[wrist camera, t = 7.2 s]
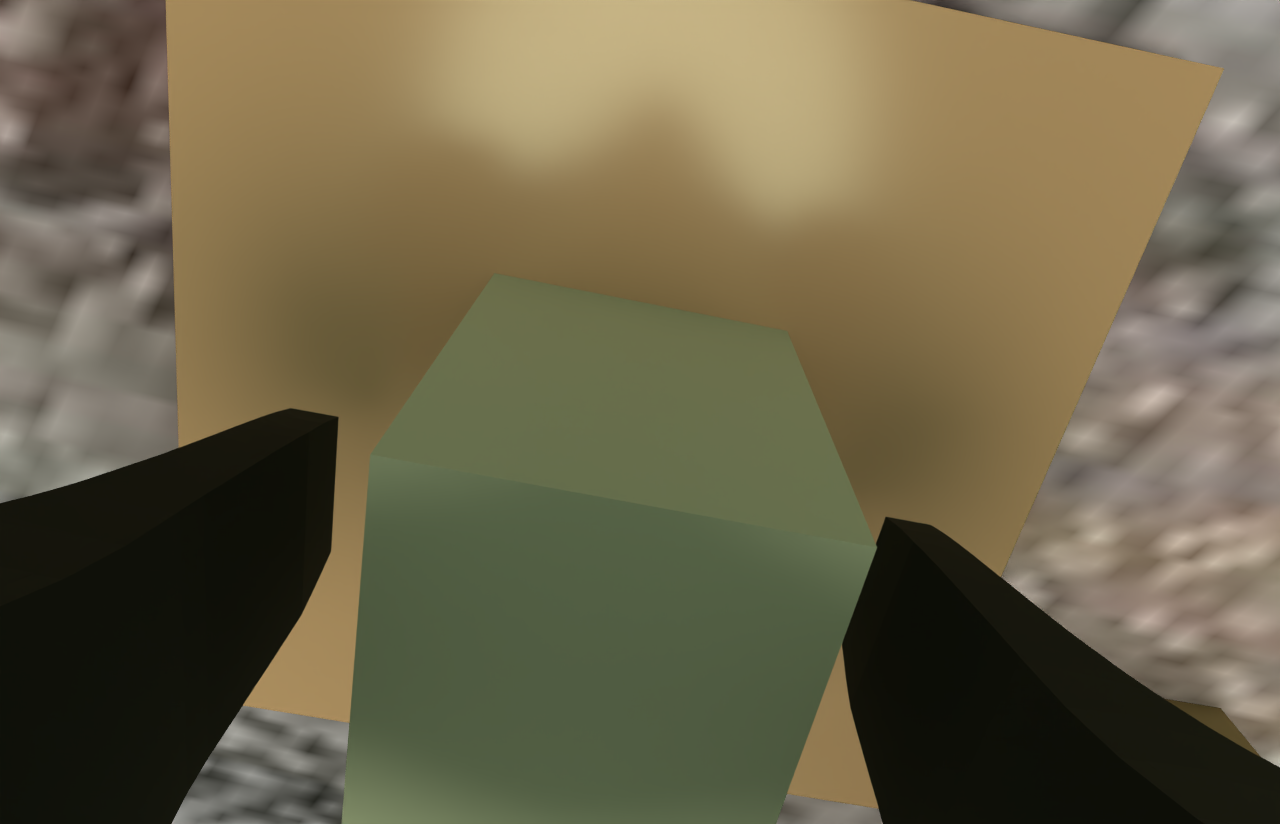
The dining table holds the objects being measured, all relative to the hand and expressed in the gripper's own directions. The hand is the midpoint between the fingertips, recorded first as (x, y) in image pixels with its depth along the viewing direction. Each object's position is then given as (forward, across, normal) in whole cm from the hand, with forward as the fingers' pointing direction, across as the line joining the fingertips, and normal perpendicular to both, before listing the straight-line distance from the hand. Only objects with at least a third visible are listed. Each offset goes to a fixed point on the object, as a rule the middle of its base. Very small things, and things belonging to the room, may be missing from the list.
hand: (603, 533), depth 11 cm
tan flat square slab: (+4, 0, 0) cm, 4 cm away
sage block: (+3, 0, 0) cm, 3 cm away
